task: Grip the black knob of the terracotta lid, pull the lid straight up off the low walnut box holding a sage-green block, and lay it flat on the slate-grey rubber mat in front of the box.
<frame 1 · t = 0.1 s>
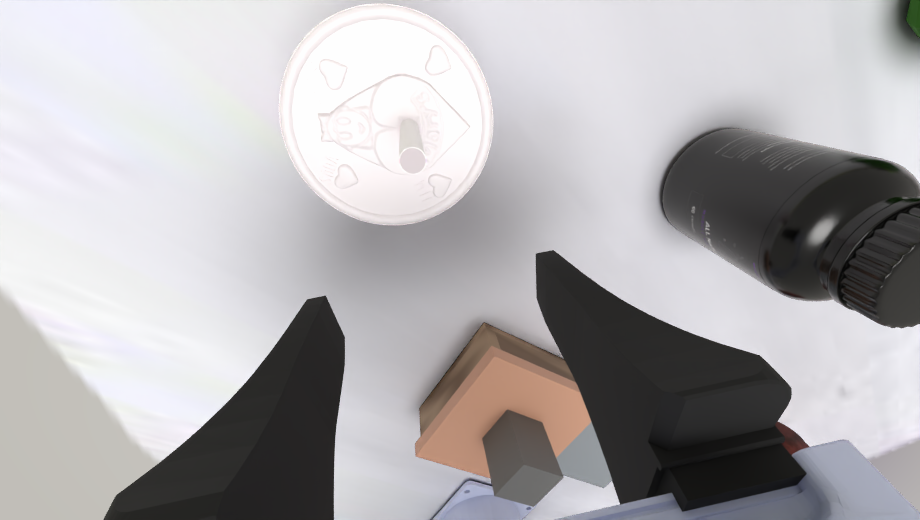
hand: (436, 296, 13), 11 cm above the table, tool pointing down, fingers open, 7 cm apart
mat: (601, 427, 34), on the table
smoothie: (395, 99, 20), on the table
fruit: (717, 427, 37), on the table
box: (499, 387, 30), on the table
supplement bottle: (707, 182, 25), on the table
lid: (508, 418, 28), point 3 cm above the table, touching box
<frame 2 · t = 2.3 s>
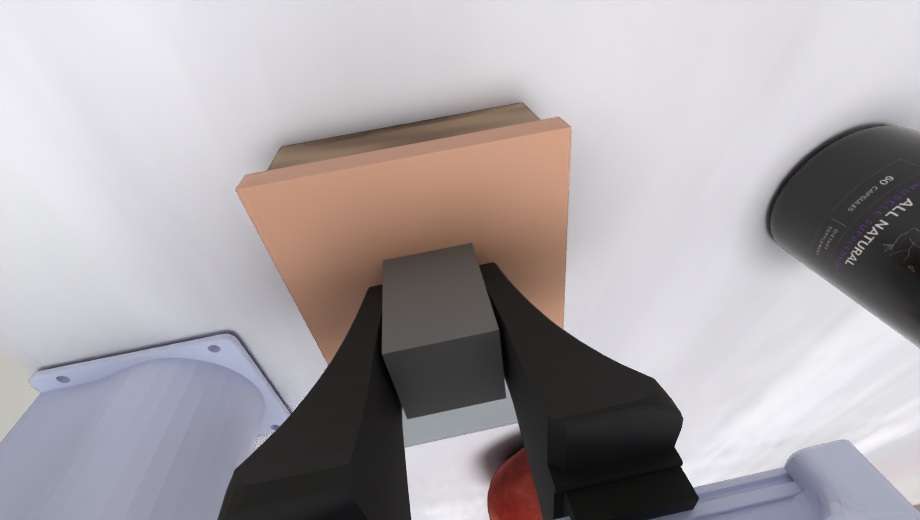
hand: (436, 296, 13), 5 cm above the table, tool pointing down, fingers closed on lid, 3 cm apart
mat: (459, 379, 24), on the table
fruit: (533, 451, 31), on the table
box: (426, 227, 17), on the table
supplement bottle: (827, 189, 20), on the table
lid: (432, 268, 15), point 3 cm above the table, touching box, gripper
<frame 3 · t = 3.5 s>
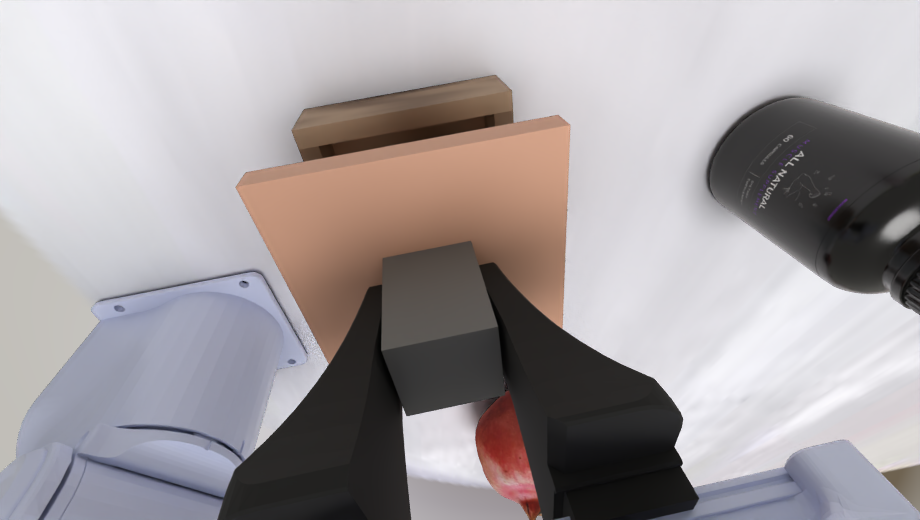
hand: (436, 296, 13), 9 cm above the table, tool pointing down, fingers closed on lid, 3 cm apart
fruit: (518, 398, 35), on the table
box: (419, 180, 21), on the table
supplement bottle: (757, 154, 23), on the table
lid: (432, 266, 15), point 8 cm above the table, touching gripper
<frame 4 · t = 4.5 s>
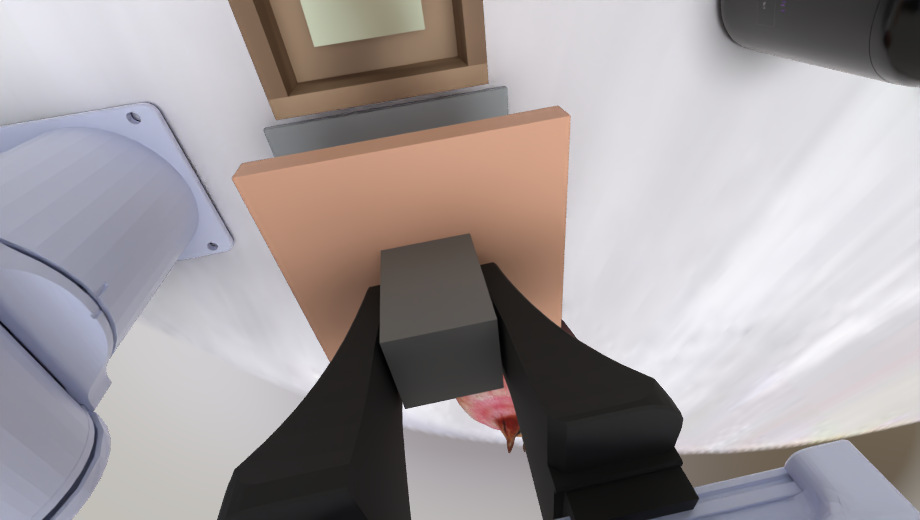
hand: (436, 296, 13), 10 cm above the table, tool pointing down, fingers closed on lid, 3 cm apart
mat: (409, 203, 23), on the table
fruit: (495, 319, 30), on the table
lid: (430, 259, 15), point 9 cm above the table, touching gripper
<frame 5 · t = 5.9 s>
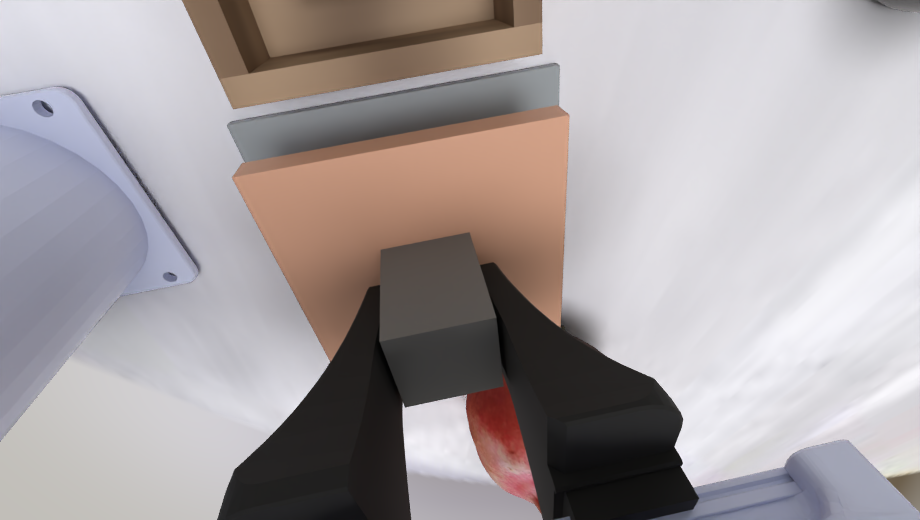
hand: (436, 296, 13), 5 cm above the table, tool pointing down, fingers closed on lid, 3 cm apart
mat: (424, 220, 18), on the table
fruit: (527, 355, 25), on the table
lid: (430, 258, 15), point 3 cm above the table, touching gripper
when the fingers open (3 cm above the table, at t = 7.1 s): lid drops 1 cm, resting on mat.
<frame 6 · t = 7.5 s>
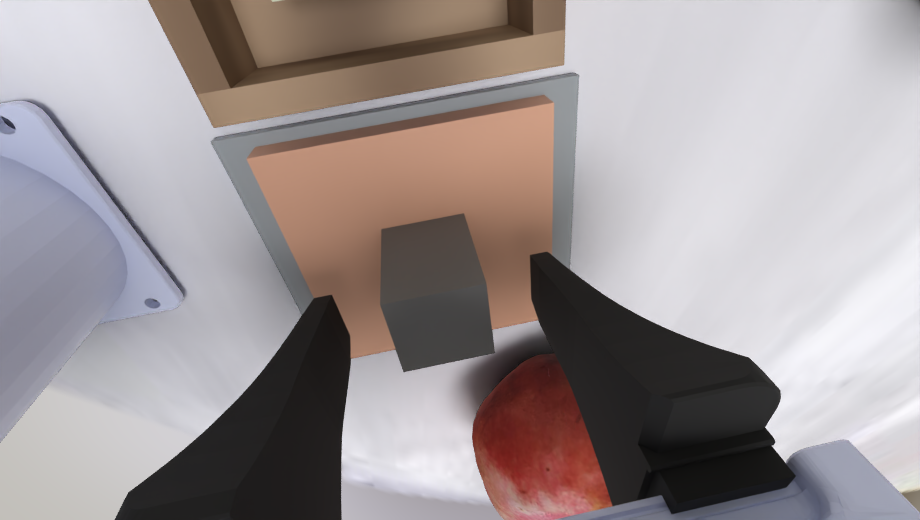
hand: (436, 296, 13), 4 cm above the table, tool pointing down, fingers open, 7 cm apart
mat: (428, 240, 16), on the table
fruit: (535, 377, 23), on the table
lid: (427, 240, 16), resting on mat
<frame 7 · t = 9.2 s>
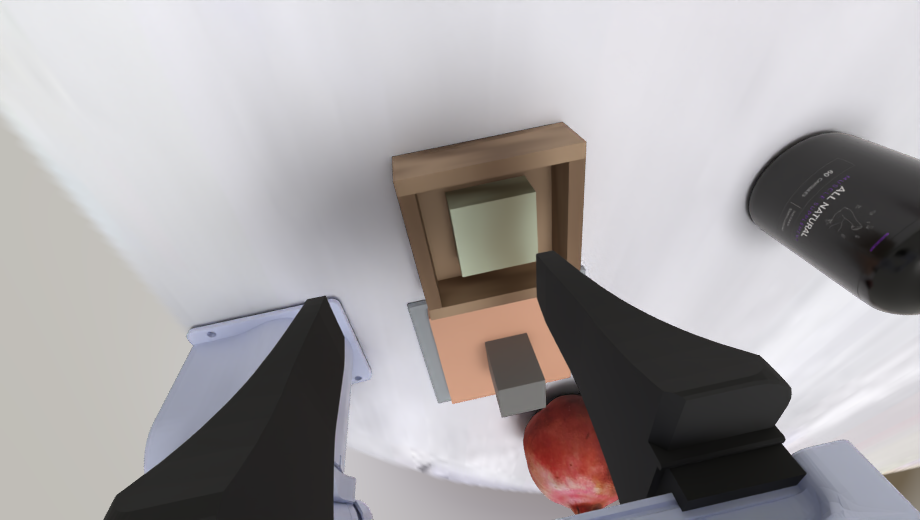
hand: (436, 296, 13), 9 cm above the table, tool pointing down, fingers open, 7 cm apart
mat: (502, 339, 30), on the table
fruit: (559, 407, 37), on the table
box: (487, 214, 23), on the table
supplement bottle: (793, 181, 25), on the table
lid: (503, 340, 29), resting on mat
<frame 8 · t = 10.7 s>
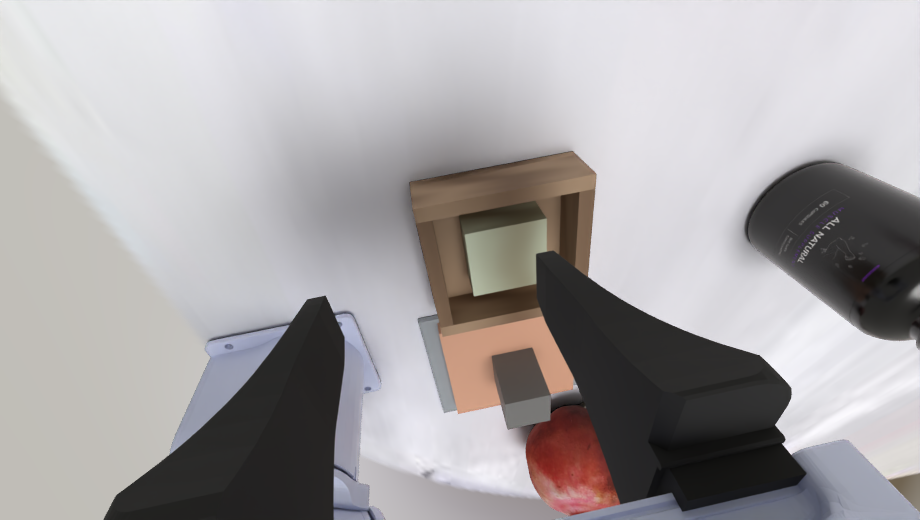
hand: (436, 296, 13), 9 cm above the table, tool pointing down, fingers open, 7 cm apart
mat: (508, 352, 30), on the table
fruit: (560, 416, 38), on the table
box: (498, 235, 24), on the table
supplement bottle: (790, 207, 26), on the table
lid: (509, 354, 30), resting on mat
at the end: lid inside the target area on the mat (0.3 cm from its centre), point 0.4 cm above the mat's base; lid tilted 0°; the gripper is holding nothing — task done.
